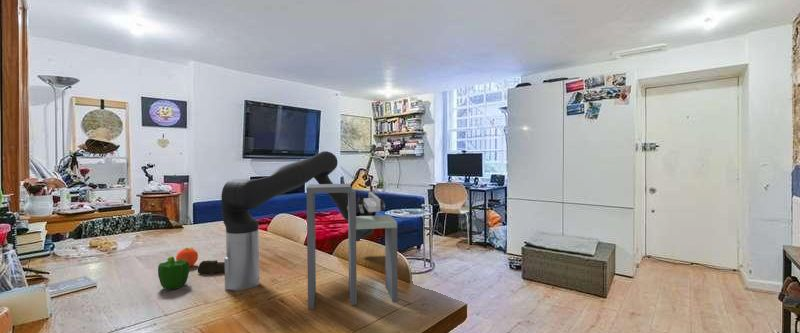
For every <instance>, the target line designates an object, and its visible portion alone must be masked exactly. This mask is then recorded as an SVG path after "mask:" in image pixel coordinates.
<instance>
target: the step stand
mask: <svg viewBox="0 0 800 333" xmlns="http://www.w3.org/2000/svg"><path fill="white" fill-rule="evenodd" d="M327 193H348V220H347V221H348V222H347V226H348V228H347V230H348V232H347V234H348V235H347V236H348V242H347V243H348V291H349V292H348V293H349V300H350V305H351V306H357V304H358V301H357V299H358V297H357V296H358V295H357V294H358V293H357V291H358V290H357V287H358V286H357V285H358V284H357V282H358V281H357V242H356V229H374V230H375V229H384V239H385V240H384V241H385V242H384V243H385V244H384V248H385V250H384V251H385V252H384V254H385V257H384V258H385V259H384V260H385V261H384V262H385V289H386V290H388V291H387V293H388V295H389V297H390V299H391V300H390V301H391V302H392V303H395V302H398V301H399V300H398V295H399V294H398V289H399V288H398V283H399V282H398V280H399V279H398V222H397V220H396V219H394V217H393V216H391V214H386V215H385V214H383V215H375V216H356V200H357V198H356V197H357V194H356V190H355V189H354V188H352V186H351V185H350V183H333V184H319V183H317V184H316V183H313V184H312V183H311V184H308V185H307V187H306V242H307V243H306V245H307V246H306V248H307V250H306V252H307V254H306V255H307V257H306V258H307V261H306V262H307V310H314V309H315V303H316V294H317V293H316V292H317V287H316V286H317V282H316V280H317V277H316V276H317V271H316V270H317V269H316V268H317V267H316V205H315V204H316V199H315V198H316V196H315V195H316V194H327Z"/></svg>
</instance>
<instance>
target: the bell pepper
mask: <svg viewBox="0 0 800 333" xmlns="http://www.w3.org/2000/svg"><path fill="white" fill-rule="evenodd" d="M157 272H158V273H157V275H158V279H159V283H160V286H161V287H162V288H163V289H164V290H166V289H173V290H176V288H177V289H178V288H179V289H180V288H181V287H182V286H186V284H187V281H188V277H189V273H190V267H189V263H188V261H186V260H184V259H180V260H178V261H176V258H174V256H168V258H167V260H166V261H165V262H160V263H158V266H157Z"/></svg>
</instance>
